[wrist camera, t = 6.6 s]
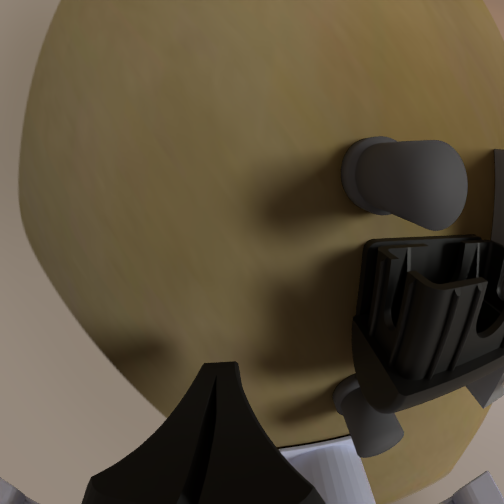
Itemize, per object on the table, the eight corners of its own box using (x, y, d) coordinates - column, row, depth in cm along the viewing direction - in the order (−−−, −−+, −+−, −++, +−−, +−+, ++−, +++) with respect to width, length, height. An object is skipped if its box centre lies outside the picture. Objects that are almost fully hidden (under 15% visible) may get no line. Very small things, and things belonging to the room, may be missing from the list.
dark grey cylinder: (375, 399, 17) (399, 449, 12) (330, 410, 17) (347, 465, 12) (384, 366, 16) (415, 418, 11) (334, 377, 16) (357, 437, 11)
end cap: (341, 353, 15) (380, 440, 9) (353, 239, 13) (433, 303, 7) (459, 326, 16) (511, 379, 9) (481, 233, 13) (555, 270, 7)
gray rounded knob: (404, 209, 13) (469, 235, 8) (342, 213, 13) (395, 244, 8) (402, 139, 11) (471, 137, 7) (338, 136, 11) (393, 126, 7)
